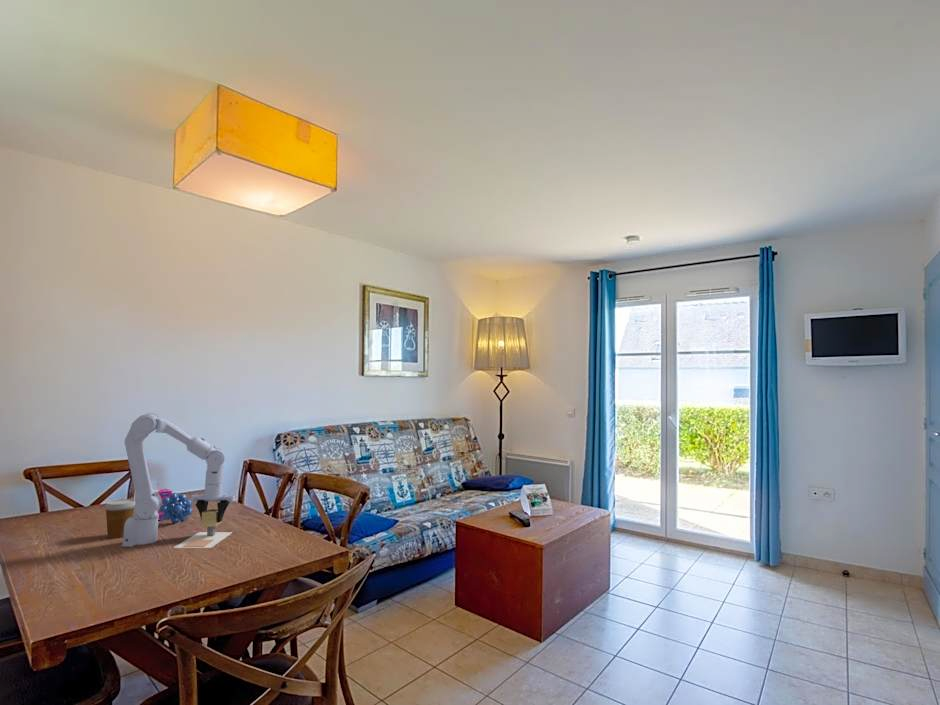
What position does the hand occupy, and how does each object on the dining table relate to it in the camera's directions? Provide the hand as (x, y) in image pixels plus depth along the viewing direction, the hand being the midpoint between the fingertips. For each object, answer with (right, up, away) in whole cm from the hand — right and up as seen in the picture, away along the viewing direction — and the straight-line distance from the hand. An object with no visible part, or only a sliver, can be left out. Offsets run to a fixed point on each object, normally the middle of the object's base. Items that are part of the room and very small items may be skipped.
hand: (211, 521), depth 181 cm
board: (0, -5, -5) cm, 8 cm away
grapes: (-22, -7, +16) cm, 28 cm away
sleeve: (0, -1, 0) cm, 1 cm away
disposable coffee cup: (-33, -5, 0) cm, 33 cm away
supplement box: (-33, -7, +23) cm, 40 cm away
